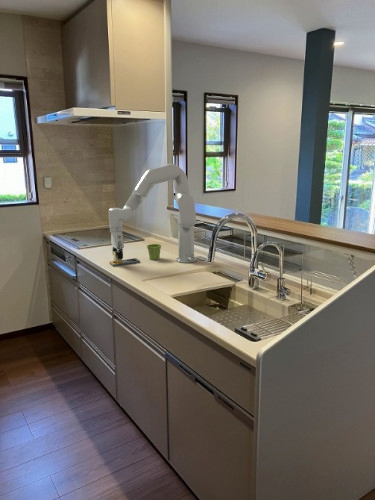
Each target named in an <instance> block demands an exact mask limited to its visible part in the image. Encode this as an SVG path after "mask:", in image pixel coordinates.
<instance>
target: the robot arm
mask: <svg viewBox="0 0 375 500" xmlns="http://www.w3.org/2000/svg"><path fill="white" fill-rule="evenodd" d="M169 181H172V183H173V186H174V193H175V202H176V204H177V207H178V208H177V209H178V214H177V232H178V234H177V235H178V237H177V238H178V239H177V240H178V256H177V258H176V260H175V261H177V262H178V263H181V264H182V263H183V264H188V263H194V262H196V261H197V257H196V256H195V228H194V226H195V225H196V223H197V214H196V213H197V212H196V206H195V205H196V204H195V200H194V196H193V195H191V191H190V185H189V180H188V176H187V175H186V173H185V171H184V170H183V169H182V168H181V167H180V166H178V165H177V164H173V163H167V164H165V165H164V166H160V167H155V168H149V169H147V170H146V171H145V172H144V173H143V175H142V177H141V178H140V180H139V181H138V183H137V185H136V186H135V188H134V189H133V191H132V193H131V195H130V196H129V198H128V200H127V201H126V202H125V204H124V206H123V208H120V207H111V208H109V209H108V223H109V224H108V226H109V232H110V240H111V246H112V248H111V249H112V252H113V251H118V252H117V256H118V259H122V260H124V249H123V248H124V247H125V244H124V235H123V221H126V222H127V221H128V222H129V221H132V220H133V219H135V217H136V214H135V213H136V211H138V208H139V207H140V205H141V204H142V202H143V201H145V200H146V199H147V198H148V197H149V195H150V193H151V192H152V190H153V189H154V187H155V185H157V184H162V183H165V182H169Z"/></svg>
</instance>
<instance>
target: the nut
mask: <svg viewBox="0 0 375 500" xmlns="http://www.w3.org/2000/svg"><path fill="white" fill-rule="evenodd" d="M117 252H118V251H113V250H112V256H113V261H114V263H115V264H116V263H122V260H123V259H118V256H117Z"/></svg>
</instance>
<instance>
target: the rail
mask: <svg viewBox="0 0 375 500" xmlns="http://www.w3.org/2000/svg"><path fill="white" fill-rule="evenodd" d="M133 263H134V264H140V263H141V260H140V259H138V258H137V257H136V258H128V259H122V263H116V264H115V263H114V260H111V261H109V264H110V265H111V266H112V267H113V266H114V267H118V266H117V265H120V266H126V265H125V264H127V265H134V264H133Z"/></svg>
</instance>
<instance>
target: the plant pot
mask: <svg viewBox="0 0 375 500" xmlns="http://www.w3.org/2000/svg"><path fill="white" fill-rule="evenodd" d="M146 248H147V252H148V255H149V260H150V261H155V260H160V256H161V255H160V254H161V249H162V244H160V243H152V244H151V243H149V244H147V245H146Z"/></svg>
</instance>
